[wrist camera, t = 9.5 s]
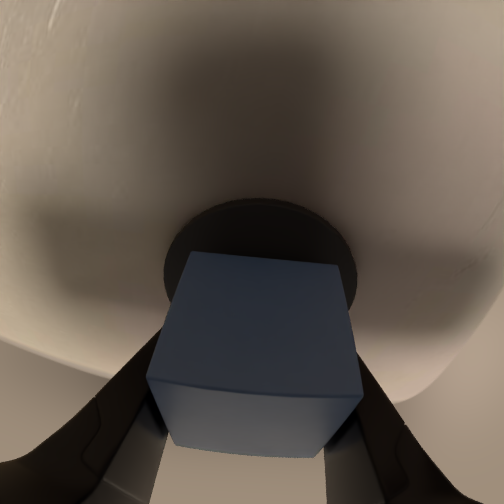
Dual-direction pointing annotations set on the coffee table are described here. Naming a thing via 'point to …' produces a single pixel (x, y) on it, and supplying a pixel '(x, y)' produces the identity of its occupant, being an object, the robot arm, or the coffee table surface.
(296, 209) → the coaster
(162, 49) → the coffee table surface
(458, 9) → the coffee table surface
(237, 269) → the block
